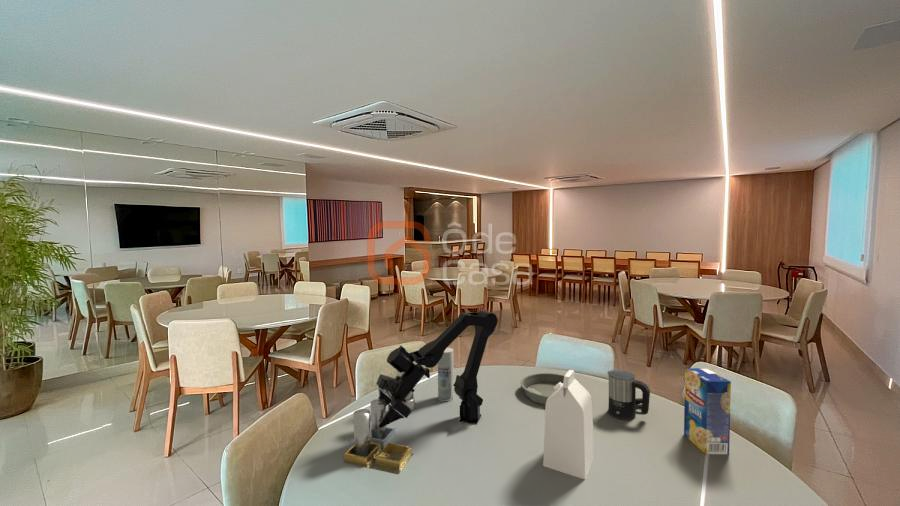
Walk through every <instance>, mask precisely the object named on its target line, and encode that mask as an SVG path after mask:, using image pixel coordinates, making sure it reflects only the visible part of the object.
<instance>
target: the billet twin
mask: <svg viewBox="0 0 900 506" xmlns="http://www.w3.org/2000/svg"><path fill="white" fill-rule="evenodd" d="M352 417H353V418H352V419H353V445H354V455H358V456H363V457H367V456H368V455H369V454H370V453H371V410H369V409H368V408H367V409H366V408H361V409H356V410H355V411H354V412H353V415H352Z"/></svg>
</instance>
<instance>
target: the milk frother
mask: <svg viewBox="0 0 900 506" xmlns="http://www.w3.org/2000/svg"><path fill="white" fill-rule="evenodd" d="M607 376H608V409H607V413H608V415H610V416H611V417H613V418H617V419H620V420H627V421H628V420H633V419H634V418H636V413H637V412H636V411H638V410H641V414H642V415H647V414H648V413H649V410H650V400H651V399H650V398H651V397H650V396H651V395H650V394H651V391H650V388H649V386H648V385H647V384H646V383H645V382H643V381H641V380H638V379H635V378H636V375H635V374H634V373H633V372H631V371H627V370H621V369H613V370H612V369H611V370H608V371H607ZM636 389H639V390H641V392H642V395H641V396H642V397H641V398H639V397H638V398H636V397H637V396H636Z"/></svg>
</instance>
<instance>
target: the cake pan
mask: <svg viewBox="0 0 900 506" xmlns="http://www.w3.org/2000/svg"><path fill="white" fill-rule="evenodd" d="M564 376H565V375H564V374H558V373H553V372H552V373H550V372H540V373H539V372H538V373H532V374H528V375H526V376H524V377H523V378H522V379H521V380H520V385H521V387H522V389H523V390H524V394H525V396H526V397H527V398H528V399H530V400H531V401H533V402H535V403H539V404H542V405H545V406H546V401H547V399H548V398H549V396H550V395H551V394H552V392H553V391H554V387H555V386H556V385H557V384H558V383H559V382H561V383H563V381H564ZM528 388H529V389H533V390H535V391H536V392H535V391H532V390H529V389H528ZM537 392H538V393H537Z"/></svg>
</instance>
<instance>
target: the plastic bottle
mask: <svg viewBox="0 0 900 506" xmlns="http://www.w3.org/2000/svg"><path fill="white" fill-rule="evenodd" d="M403 373H404V372H401V373H400V372H398V371H397V370H396V377H397V376H398V375H399V376H400V377H401V375H402V374H403ZM414 396H415V395H414V392H413V393H412V392H410V393H409V394H408V396H407V397H406V398H405V399H406V402H405V403H406V404H407V405H408V406H409V408H410V409H411V412H412V411H413V410H414V408H416V407H415V406H416V400H415V397H414Z"/></svg>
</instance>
